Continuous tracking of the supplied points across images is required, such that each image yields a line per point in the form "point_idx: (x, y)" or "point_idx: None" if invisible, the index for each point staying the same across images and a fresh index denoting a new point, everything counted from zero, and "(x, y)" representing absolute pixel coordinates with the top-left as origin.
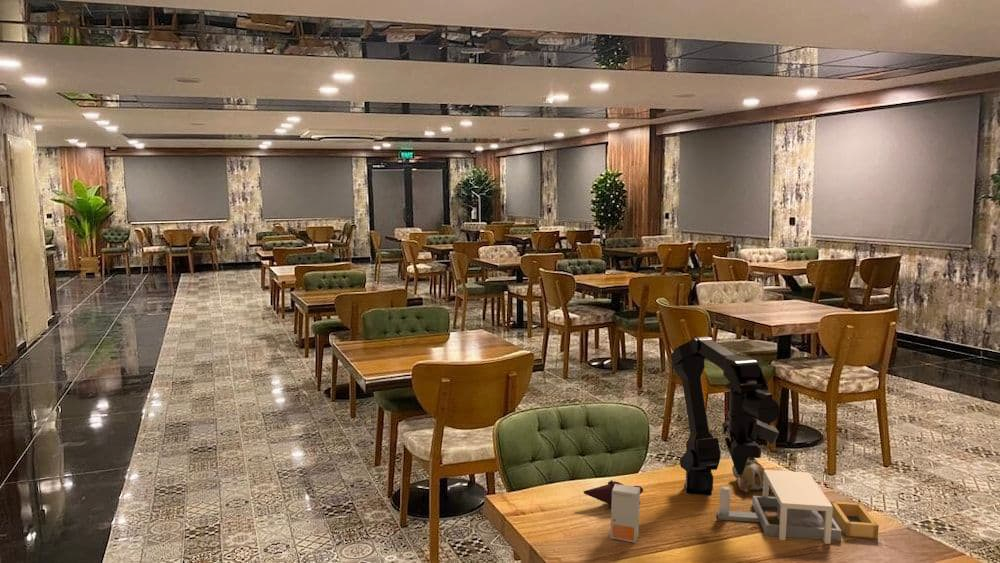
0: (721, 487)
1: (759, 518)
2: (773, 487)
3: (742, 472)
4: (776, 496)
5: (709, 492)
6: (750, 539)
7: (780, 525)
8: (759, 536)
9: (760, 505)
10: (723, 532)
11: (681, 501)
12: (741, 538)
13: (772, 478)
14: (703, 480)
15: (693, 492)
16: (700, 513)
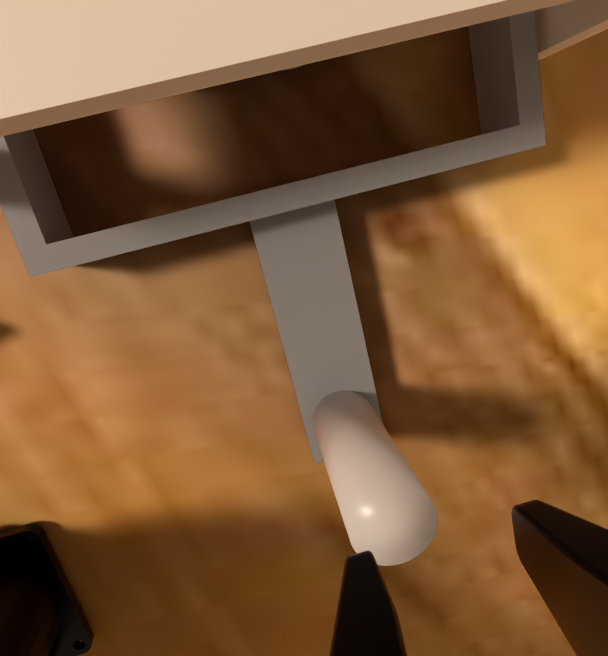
0: (386, 558)
1: (333, 201)
2: (366, 32)
3: (576, 521)
4: (532, 6)
5: (15, 545)
6: (556, 239)
7: (599, 30)
8: (506, 190)
9: (57, 207)
10: (512, 382)
11: (209, 636)
12: (556, 287)
13: (4, 46)
14: (2, 651)
15: (74, 620)
16: (323, 524)
